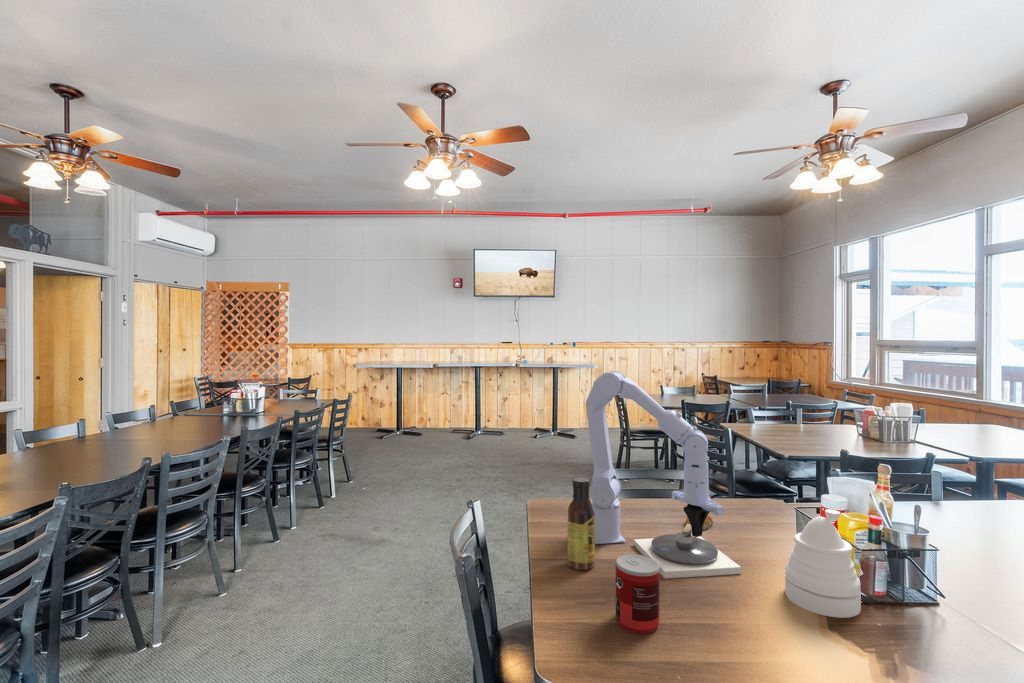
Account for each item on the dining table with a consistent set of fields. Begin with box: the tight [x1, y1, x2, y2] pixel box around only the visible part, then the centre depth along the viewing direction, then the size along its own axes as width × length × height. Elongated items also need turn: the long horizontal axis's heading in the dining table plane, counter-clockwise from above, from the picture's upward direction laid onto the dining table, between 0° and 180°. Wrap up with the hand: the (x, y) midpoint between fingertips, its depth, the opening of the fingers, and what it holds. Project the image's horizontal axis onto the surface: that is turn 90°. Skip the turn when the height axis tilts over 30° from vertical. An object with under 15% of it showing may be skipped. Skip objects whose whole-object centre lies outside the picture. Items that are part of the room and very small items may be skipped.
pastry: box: [685, 513, 715, 531], centre depth 139 cm, size 9×7×4 cm
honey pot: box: [784, 508, 862, 619], centre depth 99 cm, size 13×13×18 cm
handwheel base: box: [633, 536, 742, 579], centre depth 118 cm, size 18×18×2 cm
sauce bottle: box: [567, 477, 596, 571], centre depth 114 cm, size 7×6×20 cm
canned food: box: [615, 553, 661, 635], centre depth 91 cm, size 8×8×11 cm
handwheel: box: [651, 524, 719, 565], centre depth 118 cm, size 15×15×4 cm
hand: (697, 535), depth 122 cm, fingers closed, pressing on handwheel
